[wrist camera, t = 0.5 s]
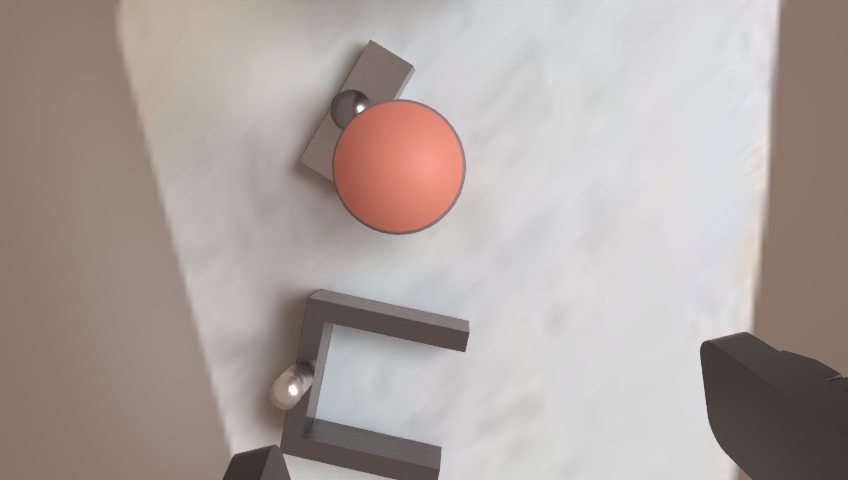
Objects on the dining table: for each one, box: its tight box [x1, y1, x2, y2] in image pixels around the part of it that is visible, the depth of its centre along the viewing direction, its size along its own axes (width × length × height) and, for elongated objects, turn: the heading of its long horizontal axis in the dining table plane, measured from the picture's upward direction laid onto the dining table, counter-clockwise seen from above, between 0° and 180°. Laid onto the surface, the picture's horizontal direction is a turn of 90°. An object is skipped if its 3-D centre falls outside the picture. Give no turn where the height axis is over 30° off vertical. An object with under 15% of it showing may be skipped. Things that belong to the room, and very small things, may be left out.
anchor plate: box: [299, 40, 415, 183], centre depth 28 cm, size 7×2×2 cm, turn 149°
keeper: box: [268, 289, 469, 480], centre depth 28 cm, size 8×8×5 cm
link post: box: [332, 99, 466, 235], centre depth 24 cm, size 4×4×12 cm
